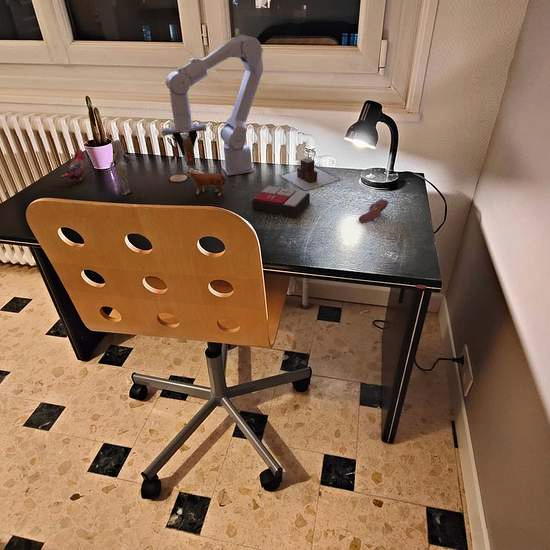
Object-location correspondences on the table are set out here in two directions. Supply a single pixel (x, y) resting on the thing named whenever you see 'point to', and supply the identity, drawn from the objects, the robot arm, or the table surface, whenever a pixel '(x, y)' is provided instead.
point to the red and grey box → (281, 201)
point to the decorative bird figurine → (76, 167)
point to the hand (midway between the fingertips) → (187, 154)
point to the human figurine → (120, 164)
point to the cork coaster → (178, 178)
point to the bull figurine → (206, 180)
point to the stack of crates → (309, 176)
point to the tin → (188, 150)
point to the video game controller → (374, 211)
